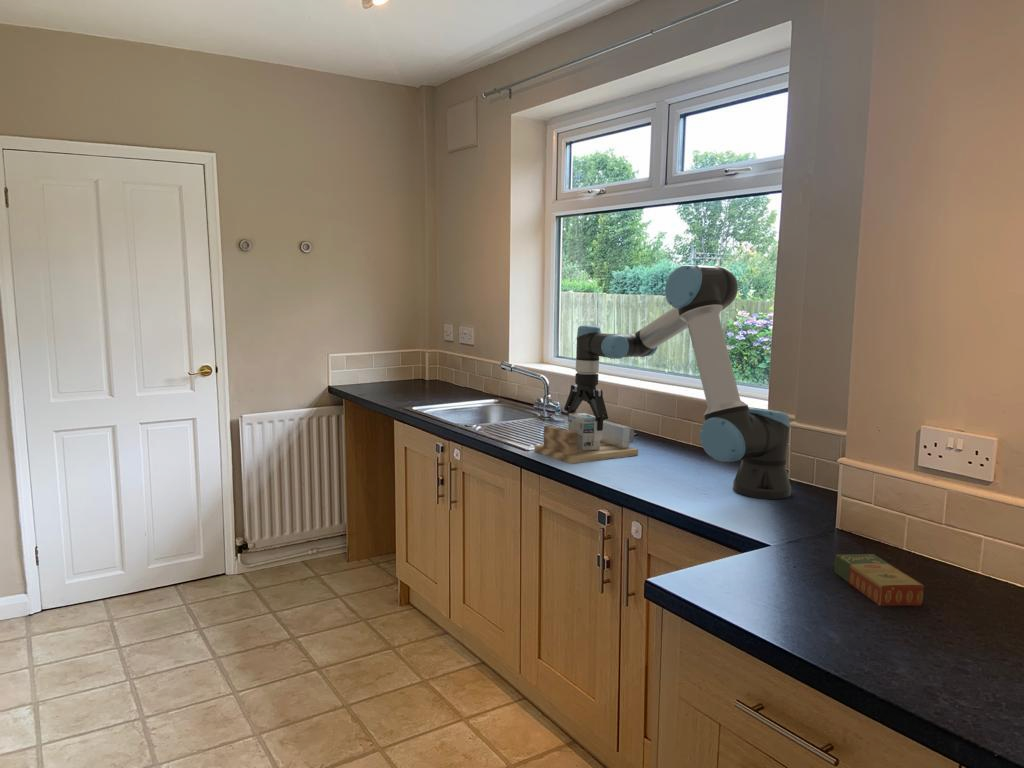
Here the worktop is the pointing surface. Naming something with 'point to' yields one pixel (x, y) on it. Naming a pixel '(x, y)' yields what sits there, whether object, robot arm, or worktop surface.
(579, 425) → the light bulb box
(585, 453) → the vise
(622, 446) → the sliding jaw
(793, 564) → the worktop surface
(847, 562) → the carton
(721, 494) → the worktop surface
